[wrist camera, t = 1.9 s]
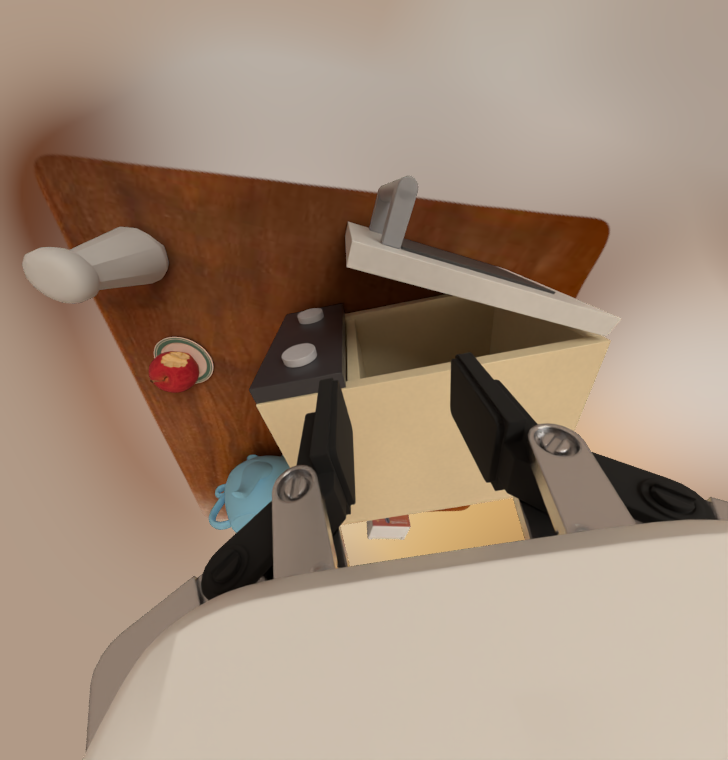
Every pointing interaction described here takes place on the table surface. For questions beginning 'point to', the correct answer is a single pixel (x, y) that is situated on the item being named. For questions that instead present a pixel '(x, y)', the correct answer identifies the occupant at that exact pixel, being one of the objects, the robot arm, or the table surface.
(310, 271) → the table surface
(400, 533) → the small box
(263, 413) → the microwave
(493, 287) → the microwave door
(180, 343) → the apple
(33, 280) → the salt shaker
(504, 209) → the table surface
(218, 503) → the teapot
